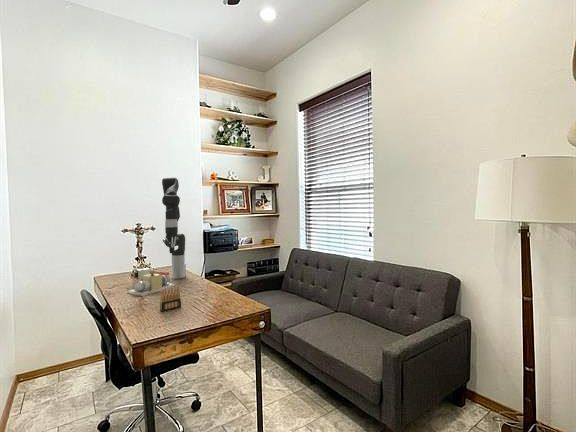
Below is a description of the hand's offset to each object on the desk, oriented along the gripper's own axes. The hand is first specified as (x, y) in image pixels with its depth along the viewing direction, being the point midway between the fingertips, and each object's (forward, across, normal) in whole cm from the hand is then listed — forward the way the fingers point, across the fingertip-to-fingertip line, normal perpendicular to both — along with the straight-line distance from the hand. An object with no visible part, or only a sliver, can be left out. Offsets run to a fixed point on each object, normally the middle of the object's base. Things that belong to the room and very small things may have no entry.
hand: (171, 253), depth 205 cm
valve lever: (+13, +6, -6) cm, 15 cm away
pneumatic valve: (+24, 0, -29) cm, 38 cm away
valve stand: (+24, +6, -12) cm, 27 cm away
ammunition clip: (+24, +28, +30) cm, 48 cm away
